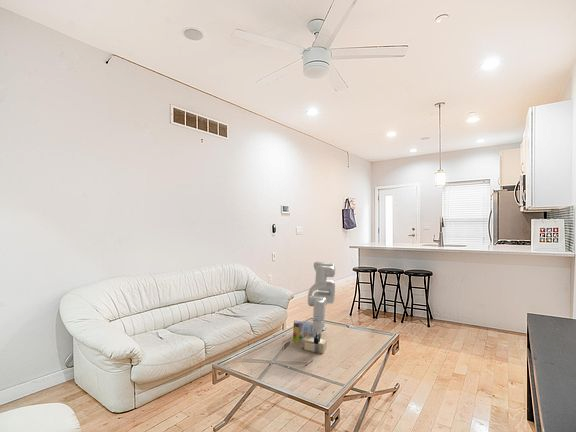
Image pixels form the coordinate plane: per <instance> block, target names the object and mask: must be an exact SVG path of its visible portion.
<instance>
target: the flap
mask: <svg viewBox="0 0 576 432" xmlns="http://www.w3.org/2000/svg"><path fill="white" fill-rule="evenodd" d="M318 338H319V336H318ZM301 343H302V344H301V345H302V346H301V349H302V350H306V351H310V352H313V353H314V354H318V353H319V352H318V344H311V343H307V342H305V345H304V342H301ZM318 343H319V339H318Z"/></svg>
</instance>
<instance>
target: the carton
mask: <svg viewBox="0 0 576 432" xmlns="http://www.w3.org/2000/svg"><path fill="white" fill-rule="evenodd" d="M302 342H304V345H305V342H307V343H311V344H315V343H314V337H311V336H305V337H304V339H303V341H302ZM302 342H301V343H302ZM327 342H328V341H327V339H323V338H321V339H320V342H319V343H318V353H320V354H324V353H325V351H326V350H327Z"/></svg>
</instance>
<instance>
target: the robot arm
mask: <svg viewBox="0 0 576 432" xmlns="http://www.w3.org/2000/svg"><path fill="white" fill-rule="evenodd" d="M313 269H314V271H315V281H314V282H315V283H314V284H313V285H312V286H311V287H310V288H309V291H308V292H307V293H308V294H307V305H308V306H309V307H313V312H312V320H313V321H312V322H313V324H312V334H313V333H314V336H313V337H314V343H315V344H318V339H319V342H320V337H319V338H318V336H320V333H321V334H322V330H323V331H325V330H326V329H327V327H325V323H326V322H325V319H326V317H325V316H326V306H327V305H328V304H329V305H331V304H334V303H335V294H336V283H335V281H334V280H332V279H327V278H334V277H335V275H336V265H335V263H333V262H325V261H315V262H314V263H313Z"/></svg>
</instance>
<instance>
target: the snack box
mask: <svg viewBox="0 0 576 432" xmlns="http://www.w3.org/2000/svg"><path fill="white" fill-rule="evenodd" d="M312 324H313V321H305V320H293V331H292V332H293V333H292V342H293V343H302V341H303V339H304V337H305V336H311V337H313V336H314V333H313V334H312ZM319 337H320V339H322V332H321V333H320V336H319Z"/></svg>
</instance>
